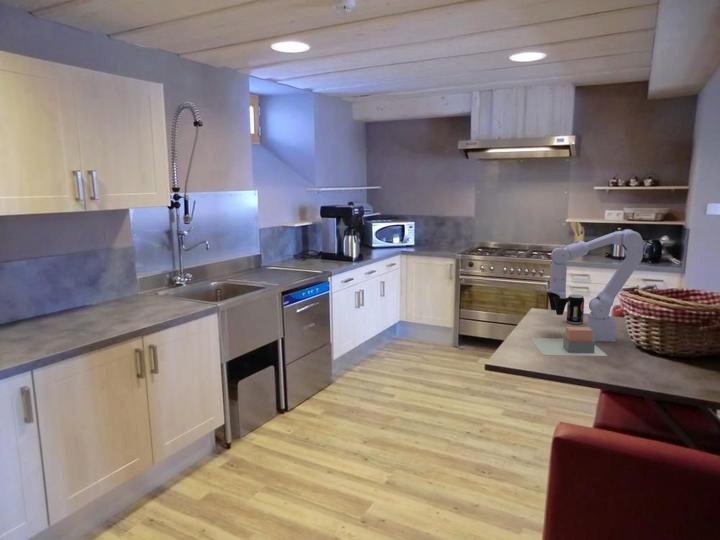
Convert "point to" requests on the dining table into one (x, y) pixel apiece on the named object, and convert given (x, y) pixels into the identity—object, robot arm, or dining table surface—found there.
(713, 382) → the dining table surface
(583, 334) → the terracotta brick
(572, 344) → the grey base brick
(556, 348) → the baseplate
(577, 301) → the beverage can
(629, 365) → the dining table surface
